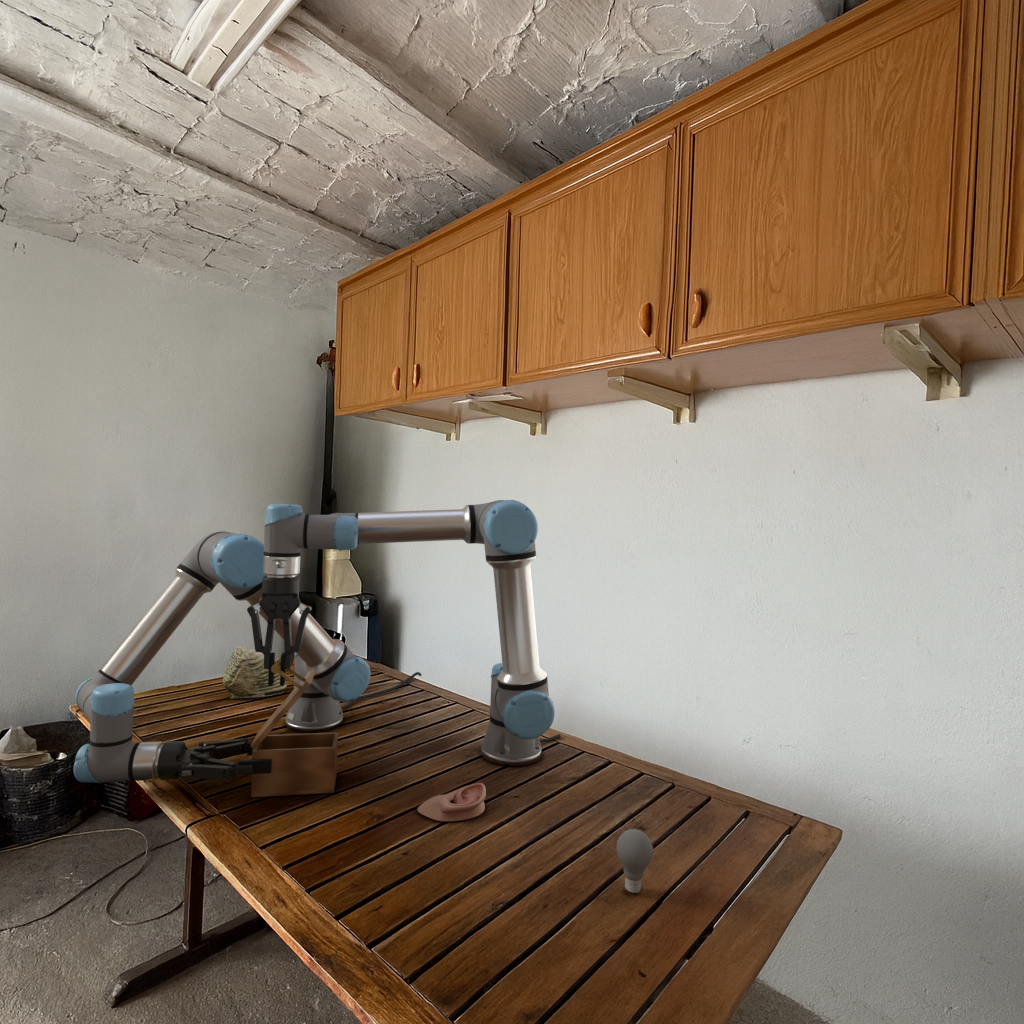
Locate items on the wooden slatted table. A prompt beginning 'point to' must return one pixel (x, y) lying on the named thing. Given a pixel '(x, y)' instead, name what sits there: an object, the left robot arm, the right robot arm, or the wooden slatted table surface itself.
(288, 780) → the chest
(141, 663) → the left robot arm
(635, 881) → the light bulb
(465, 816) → the anatomical model
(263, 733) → the lid
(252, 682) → the fossil
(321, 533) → the right robot arm
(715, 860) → the wooden slatted table surface
